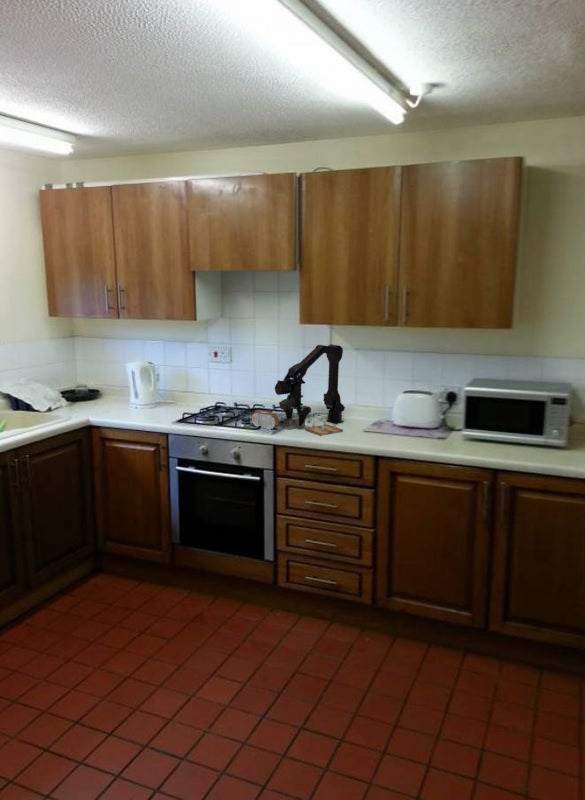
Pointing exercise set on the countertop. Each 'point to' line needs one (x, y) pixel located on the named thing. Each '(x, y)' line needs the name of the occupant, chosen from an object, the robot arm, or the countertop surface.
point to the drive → (292, 423)
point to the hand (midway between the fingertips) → (294, 424)
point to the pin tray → (323, 429)
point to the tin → (265, 419)
